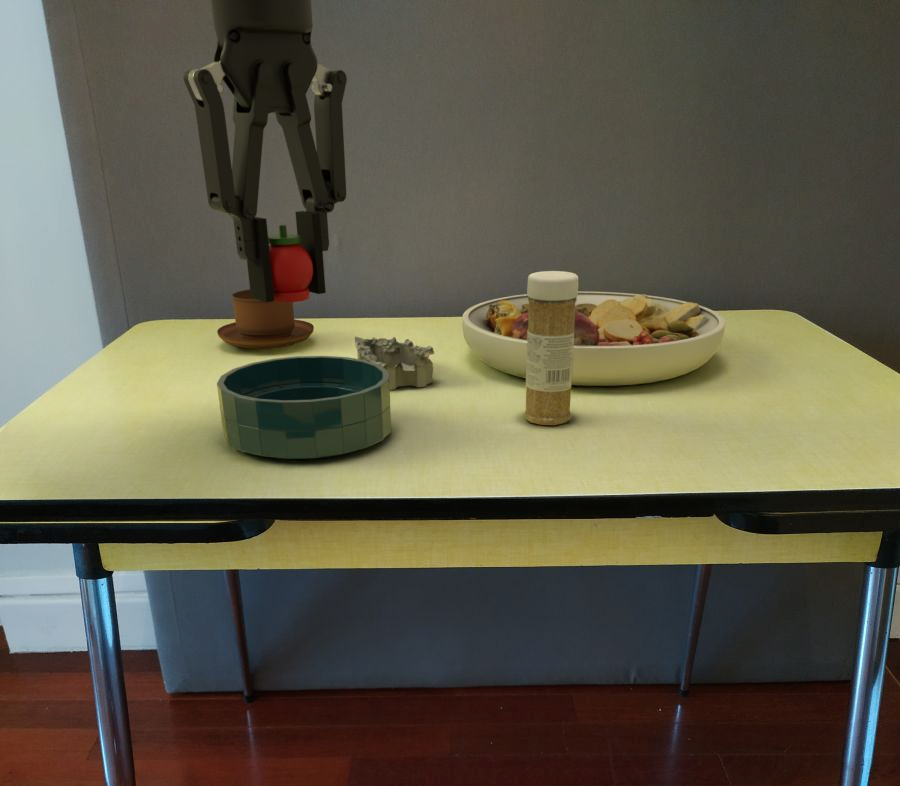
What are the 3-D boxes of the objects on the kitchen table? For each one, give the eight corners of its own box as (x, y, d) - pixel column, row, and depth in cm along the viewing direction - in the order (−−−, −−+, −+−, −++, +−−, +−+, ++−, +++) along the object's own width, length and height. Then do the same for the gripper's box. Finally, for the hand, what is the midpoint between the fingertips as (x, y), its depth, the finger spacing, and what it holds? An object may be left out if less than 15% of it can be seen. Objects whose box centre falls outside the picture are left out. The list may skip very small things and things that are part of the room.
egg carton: (438, 387, 98) (437, 349, 96) (369, 393, 96) (367, 354, 94) (417, 362, 107) (416, 326, 105) (353, 366, 105) (351, 330, 103)
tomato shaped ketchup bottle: (279, 306, 77) (272, 230, 74) (252, 298, 80) (244, 224, 77) (325, 299, 79) (320, 225, 77) (297, 291, 83) (291, 220, 80)
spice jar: (566, 411, 90) (574, 269, 83) (574, 426, 86) (582, 278, 79) (520, 412, 90) (525, 269, 83) (525, 427, 86) (530, 278, 79)
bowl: (494, 324, 124) (495, 264, 120) (722, 337, 117) (730, 273, 113) (431, 384, 99) (429, 309, 95) (715, 404, 92) (727, 325, 88)
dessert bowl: (279, 478, 75) (273, 413, 72) (196, 433, 85) (188, 374, 82) (424, 438, 83) (423, 379, 81) (333, 401, 94) (329, 347, 91)
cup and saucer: (214, 337, 119) (208, 288, 116) (305, 330, 122) (301, 282, 119) (224, 359, 109) (217, 306, 106) (323, 351, 112) (319, 299, 109)
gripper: (171, -41, 61) (217, 316, 72) (382, -25, 71) (394, 288, 82) (125, -30, 66) (176, 302, 77) (329, -16, 76) (347, 277, 87)
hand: (288, 294), depth 80 cm, fingers closed on tomato shaped ketchup bottle, 4 cm apart
